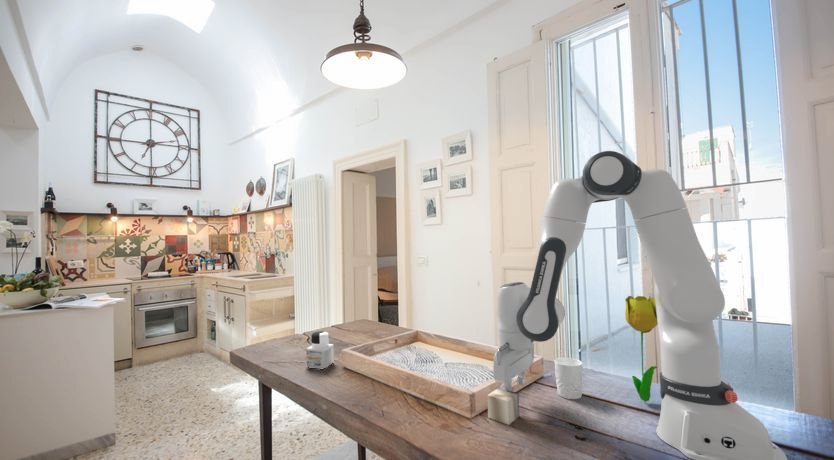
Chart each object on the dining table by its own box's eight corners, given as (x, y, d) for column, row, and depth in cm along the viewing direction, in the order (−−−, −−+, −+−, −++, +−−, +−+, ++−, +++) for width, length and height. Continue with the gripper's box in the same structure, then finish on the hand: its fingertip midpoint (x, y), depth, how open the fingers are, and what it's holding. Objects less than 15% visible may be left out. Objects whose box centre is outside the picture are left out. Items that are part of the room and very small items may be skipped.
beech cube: (518, 393, 98) (507, 401, 93) (519, 415, 97) (508, 424, 93) (498, 387, 102) (487, 395, 97) (499, 409, 101) (488, 417, 97)
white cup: (553, 397, 108) (552, 363, 109) (557, 388, 115) (555, 356, 116) (582, 402, 105) (581, 367, 105) (584, 392, 112) (583, 359, 112)
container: (306, 368, 140) (305, 334, 140) (317, 362, 147) (316, 329, 147) (323, 370, 137) (323, 335, 138) (334, 363, 145) (333, 330, 145)
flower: (621, 400, 105) (617, 296, 106) (638, 394, 109) (634, 293, 110) (652, 412, 97) (647, 300, 99) (670, 405, 101) (664, 297, 102)
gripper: (508, 350, 94) (510, 404, 93) (537, 333, 110) (539, 380, 109) (486, 346, 98) (488, 398, 97) (517, 330, 114) (518, 375, 113)
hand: (515, 388), depth 103 cm, fingers open, 7 cm apart
